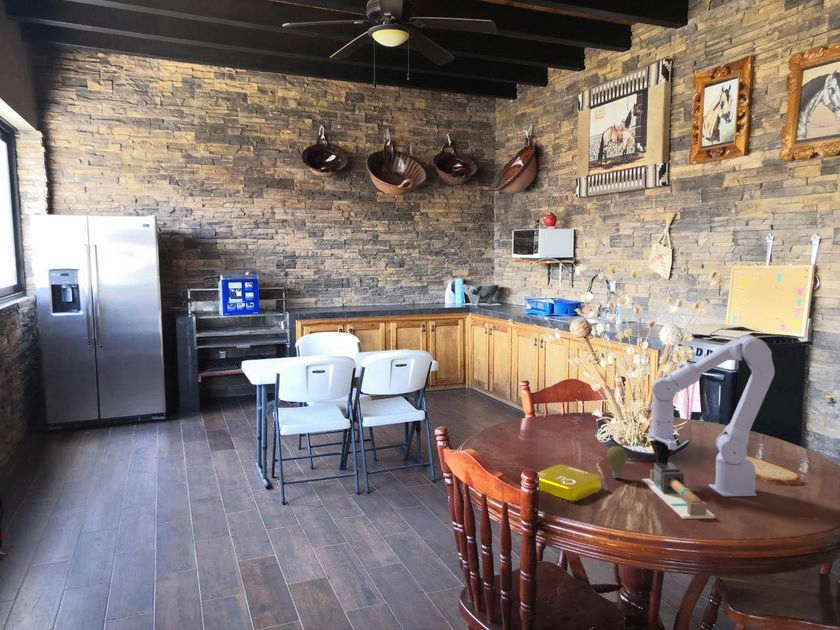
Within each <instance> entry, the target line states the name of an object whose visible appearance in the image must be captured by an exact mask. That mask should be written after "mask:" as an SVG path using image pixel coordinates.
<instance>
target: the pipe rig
mask: <svg viewBox="0 0 840 630" xmlns="http://www.w3.org/2000/svg"><path fill="white" fill-rule="evenodd" d="M642 480H643V481H644V482H645V483H646V484H647V485H648V486H647V485H646V484H645V483H644V482H643V481H642V482H643V483H644V484H645V485H646V486H647V487H648V488H650V489H651V491H653V492H654V493H655V494H656V495H657V496H658V497H659V498H660V499H661V500H662V501H664V502H665V504H667V506H669V507H670V508H671V509H672V510H673V511H674V512H675V513H676V514H677V515H679V516H680V518H681V519H683V520H686V519H688V520H689V519H693V520H694V519H695V520H696V519H715V518H716V516H715V515H714V514H713V513H712V512H711V511H710V510H708V509H707V503H706V502H705V501H703V500H701V499H700V498H699V497H698V496H697V494H694V493H693V492H692V490H691V489H689V488H687V487H686V486H683V485H682V484H681V483H680V482H678V481H677V480H676V479H675V478H673V477H671V478H668V485H670V486H671V487H672V488H673V489H674V490H675V491H677V492H678V493H663V492H662V490H661V489H660V488H658V487H657V486H656V485H655V484H654V468H653V469H651V468H650V469H649V478H642Z"/></svg>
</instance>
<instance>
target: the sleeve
mask: <svg viewBox="0 0 840 630" xmlns="http://www.w3.org/2000/svg"><path fill="white" fill-rule="evenodd" d="M653 469H654V484H655V485H656V486H657V487H658V488H660V489H661V490H662V472H681V468H680V467H678V465H676V464H675V463H673V462H667V463H656V462H654V463H653ZM673 478H675V479H676V480H677V481H678V477H673ZM668 488H672V487H671V486H670V485H668Z"/></svg>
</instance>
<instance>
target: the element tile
mask: <svg viewBox="0 0 840 630" xmlns="http://www.w3.org/2000/svg"><path fill="white" fill-rule="evenodd" d="M536 473H538V475H539V489H540V491H545V492H548V493H551V494H553V495H555V496H558V497H561V498H564V499H567V500H578V499H580V498H582V497H584V496H587V495H589V494H591V493H594V492H596V491H598V490H600V489H601V490H602V487H601V486H602V477H601V475H599V474H597V473H596V474H595V473H592V472H589V471H586V470H583V469H579V468H575V467H572V466H569V465H565V464H560V463H559V464H557V465H556V464H555V465H553V466H551V467H548V468H546V469H544V470H543V469H542V470H541V471H538V472H536ZM601 490H600V491H601Z"/></svg>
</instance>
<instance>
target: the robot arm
mask: <svg viewBox="0 0 840 630" xmlns="http://www.w3.org/2000/svg"><path fill="white" fill-rule="evenodd" d="M742 360H744V361H745V362H746V364H747V365H748V368H749V369H750V371H751V374H750V375H749V378H748V381H747V383H746V385H745V388H744V389H743V392H742V395H741V396H740V399H739V401H738V403H737V406H736V408H735V409H734V410H735V411H734V412H733V415H732V418H731V420H730V423H728V424H727V425H726V426H725V427H724V429H723V432H722V433H720V434H719V435H718V436H717V437H716V438H715V446H716V449H717V450H718V451H719V452H718V454H717V455H716V456H715V483H714V484H713V483H712V484H711V483H710V484H709V483H708V486H709V487H710V488H711V489H712V490H713V491H715V492H716V493H718V494H719V495H720V496H721V497H756V496H757V493H756V481H757V480H756V471H755V467H754V465H753V463H752V462H751V461H749V460H745V459H746V457H747V456H748V444H749V442H750V431H751V429H752V426H753V425H754V422H755V419H756V418H757V416H758V413H759V411H760V410H761V406H762V404H763V402H764V399H765V397H766V396H767V392H768V390H769V388H770V386H771V383H772V381H773V379H774V376H775V373H776V372H775V366H774V362H773V357H772V350H771V348H769V346H768V345H767V343H766V342H765V341H764V340H762V339H761V338H757V337H756V336H754V335H752V334H742V335H741V336H739V337H738V338H737V339H736V338H735V339H732V340H730V341H729V342H727V343H725V344H723V345H722V346H720V347H719V348H717V349H716V350H714V351H713V352H711V353H709V354H708V355H705V357H703V358H701V359H700V360H698V361H697V362H695V363H689V362H687V363H685V364H683V363H680V364H678V365H677V366H678V368H676V369H674V370H672V371H670V372H669V373H664V374H663V375H662V377H658V378H655V379H654V381H653V382H652V384H651V387H650V388H651V391H652V393H653V395H652V403H651V404H652V405H651V427H648V434H647V438H649V439H653V440H649V443H650V445H651V448H652V450H653V453H654V457H655V463H669V462H668V461H669V457H670V455H671V453H672V451H673V450H677V449H678V443H677V442H676V439H675V436H674V417H675V416H674V413H675V412H674V409H675V408H674V407H675V406H674V398H675V397H676V395H677V393H679V392H682V391H683V390H684V389H687V388H688V387H690V386H692V385H694V384H696V383H697V382H699V381H700V379H701V376H702V374H704V373H705V372H708V371H710V370H711V369H714V368H715V367H718V366H719V365H721V364H723V363H726V362H727V361H742Z"/></svg>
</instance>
